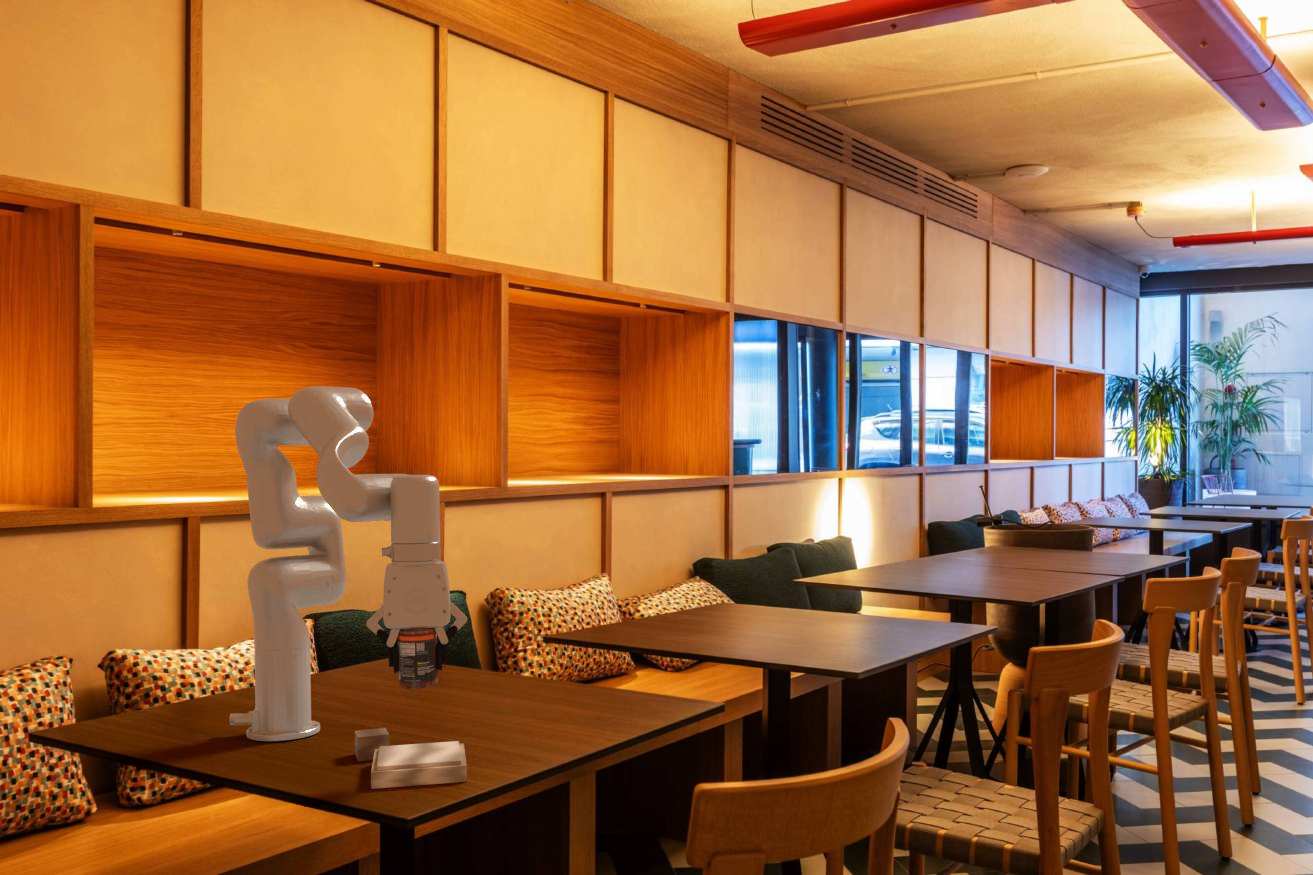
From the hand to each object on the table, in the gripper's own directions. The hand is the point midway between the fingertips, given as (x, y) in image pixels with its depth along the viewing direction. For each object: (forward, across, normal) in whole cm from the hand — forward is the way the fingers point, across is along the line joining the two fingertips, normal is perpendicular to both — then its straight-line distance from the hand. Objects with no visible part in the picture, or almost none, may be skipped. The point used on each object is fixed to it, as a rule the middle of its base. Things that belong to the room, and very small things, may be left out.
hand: (418, 668), depth 177 cm
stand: (+16, 0, 0) cm, 16 cm away
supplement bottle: (+3, 0, 0) cm, 3 cm away
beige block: (+16, -8, +13) cm, 22 cm away
